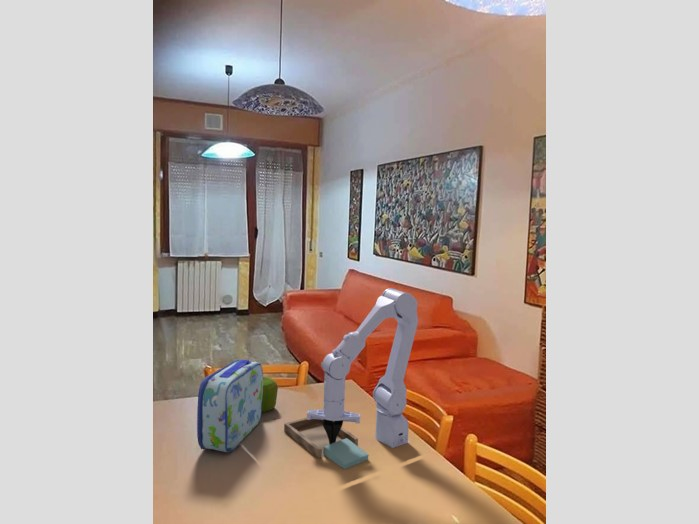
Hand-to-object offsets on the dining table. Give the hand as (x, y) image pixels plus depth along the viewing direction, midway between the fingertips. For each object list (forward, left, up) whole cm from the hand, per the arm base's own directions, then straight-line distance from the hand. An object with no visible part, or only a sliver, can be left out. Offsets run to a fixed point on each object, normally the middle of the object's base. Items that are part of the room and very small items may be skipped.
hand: (332, 445), depth 129 cm
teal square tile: (-6, 0, -1) cm, 6 cm away
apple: (+35, +5, -2) cm, 36 cm away
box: (+6, 0, -1) cm, 7 cm away
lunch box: (+22, +20, -2) cm, 30 cm away
